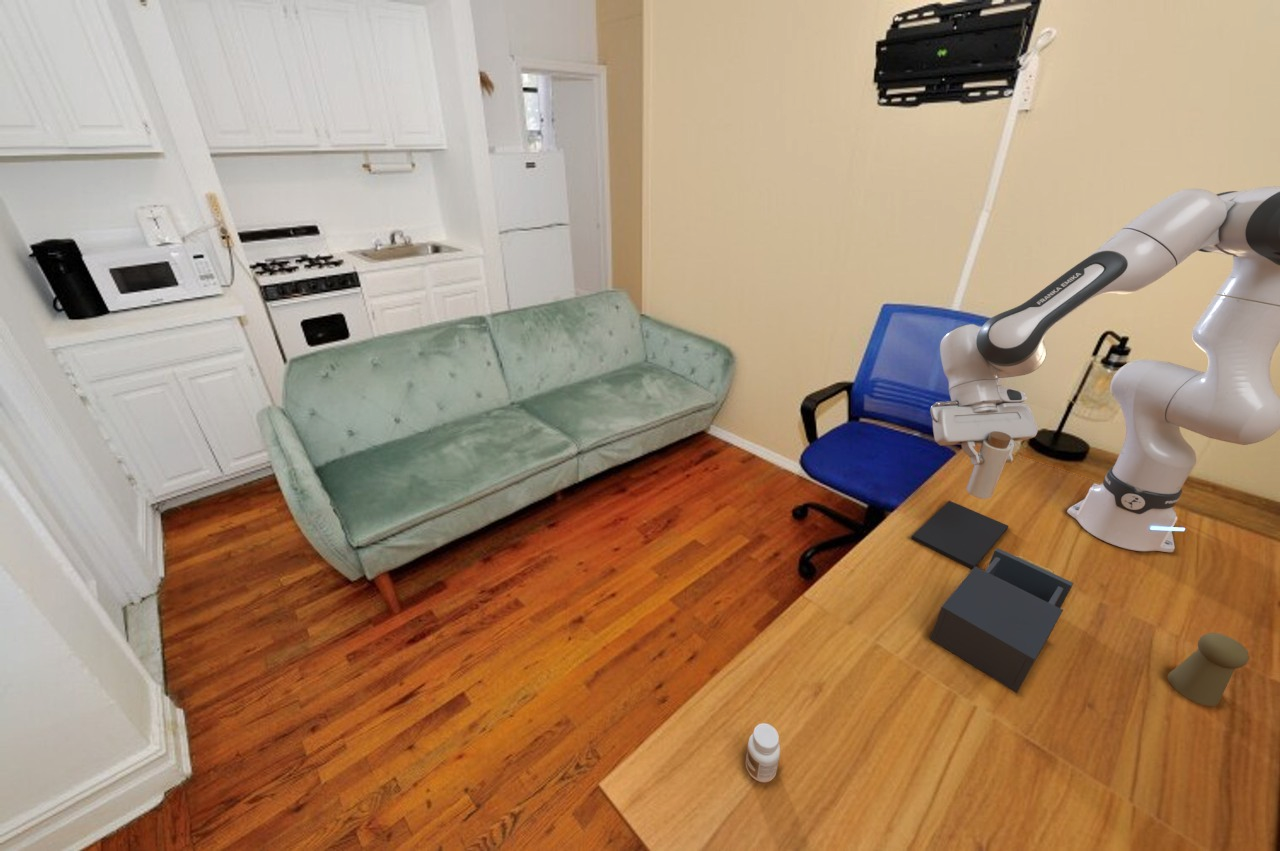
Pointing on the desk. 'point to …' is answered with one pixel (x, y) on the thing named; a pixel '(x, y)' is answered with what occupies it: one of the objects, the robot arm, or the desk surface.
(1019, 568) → the drawer
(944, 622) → the cabinet
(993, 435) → the pepper mill
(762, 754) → the pill bottle
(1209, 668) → the cork
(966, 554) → the mat
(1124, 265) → the robot arm
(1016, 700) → the desk surface
